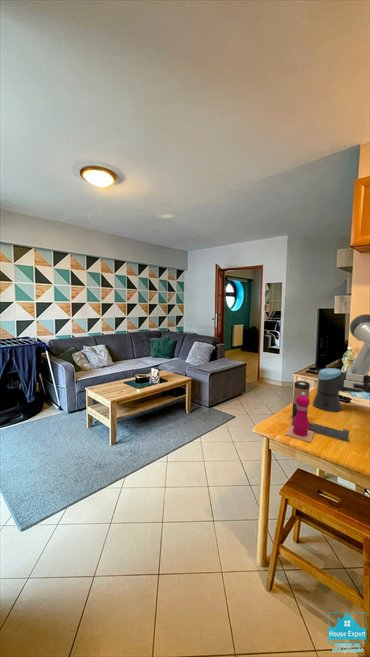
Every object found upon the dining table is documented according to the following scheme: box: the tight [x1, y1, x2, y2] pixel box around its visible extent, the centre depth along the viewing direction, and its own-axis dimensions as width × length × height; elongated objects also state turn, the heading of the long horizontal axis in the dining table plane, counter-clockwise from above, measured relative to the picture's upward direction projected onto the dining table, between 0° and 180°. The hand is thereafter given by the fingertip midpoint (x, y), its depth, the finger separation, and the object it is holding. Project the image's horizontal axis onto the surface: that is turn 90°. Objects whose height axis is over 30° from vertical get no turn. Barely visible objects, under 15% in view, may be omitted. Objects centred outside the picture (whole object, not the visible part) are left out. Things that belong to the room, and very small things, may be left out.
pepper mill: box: [293, 392, 311, 436], centre depth 122 cm, size 7×7×20 cm
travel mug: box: [291, 380, 311, 417], centre depth 139 cm, size 8×8×20 cm
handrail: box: [291, 416, 350, 443], centre depth 125 cm, size 24×2×4 cm, turn 55°
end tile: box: [285, 424, 316, 444], centre depth 123 cm, size 11×11×1 cm
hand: (344, 379), depth 112 cm, fingers open, 13 cm apart
